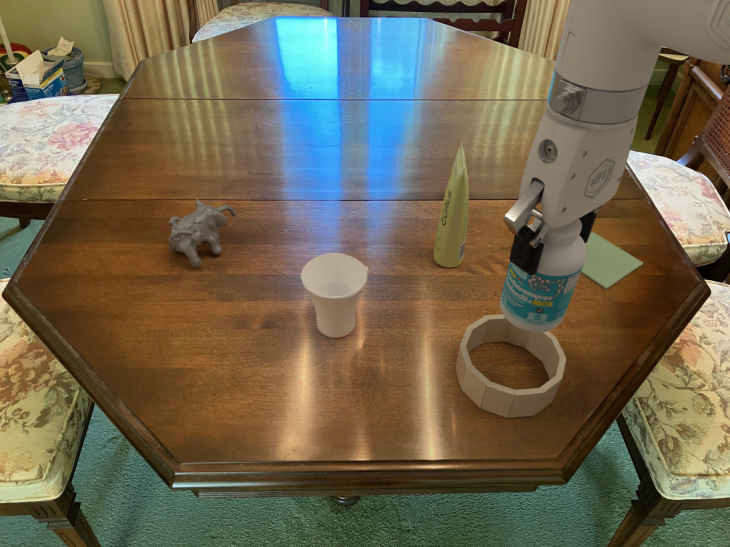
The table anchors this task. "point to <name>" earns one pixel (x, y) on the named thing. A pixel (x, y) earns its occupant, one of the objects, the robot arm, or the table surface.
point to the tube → (453, 216)
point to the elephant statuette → (198, 230)
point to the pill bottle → (545, 281)
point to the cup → (334, 291)
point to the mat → (607, 262)
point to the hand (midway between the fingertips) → (548, 251)
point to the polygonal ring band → (500, 396)
